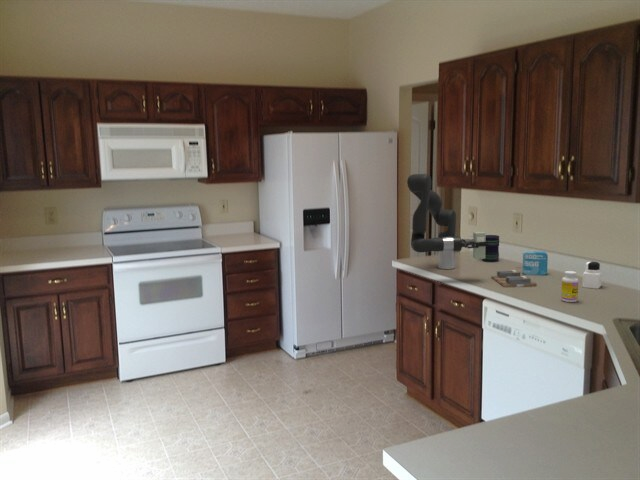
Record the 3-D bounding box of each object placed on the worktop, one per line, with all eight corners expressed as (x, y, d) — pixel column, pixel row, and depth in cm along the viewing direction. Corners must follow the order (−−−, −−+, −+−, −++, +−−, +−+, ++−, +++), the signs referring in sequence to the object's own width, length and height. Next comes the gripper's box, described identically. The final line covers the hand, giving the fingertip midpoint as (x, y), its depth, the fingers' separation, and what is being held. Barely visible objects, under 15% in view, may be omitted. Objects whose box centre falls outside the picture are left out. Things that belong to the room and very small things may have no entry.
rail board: (491, 277, 295) (491, 270, 295) (521, 277, 296) (522, 269, 295) (503, 287, 276) (504, 279, 275) (536, 286, 276) (536, 278, 275)
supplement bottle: (572, 303, 245) (573, 274, 243) (558, 300, 250) (559, 272, 248) (580, 300, 248) (581, 272, 246) (566, 297, 254) (567, 269, 252)
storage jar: (478, 259, 343) (479, 235, 341) (493, 258, 345) (494, 234, 342) (486, 262, 333) (487, 237, 331) (502, 261, 335) (502, 236, 333)
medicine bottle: (601, 285, 273) (602, 261, 271) (598, 289, 267) (599, 264, 265) (584, 284, 277) (586, 260, 275) (582, 287, 271) (583, 262, 269)
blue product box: (522, 274, 301) (523, 252, 299) (522, 272, 305) (523, 250, 303) (547, 275, 298) (547, 253, 296) (546, 273, 302) (547, 251, 300)
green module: (472, 257, 291) (473, 232, 289) (482, 256, 291) (483, 231, 289) (475, 258, 286) (475, 233, 284) (485, 258, 286) (485, 233, 284)
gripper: (454, 239, 280) (489, 238, 280) (448, 234, 294) (480, 233, 294) (454, 254, 281) (488, 252, 281) (447, 248, 295) (480, 247, 295)
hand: (484, 243), depth 287 cm, fingers closed on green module, 4 cm apart
